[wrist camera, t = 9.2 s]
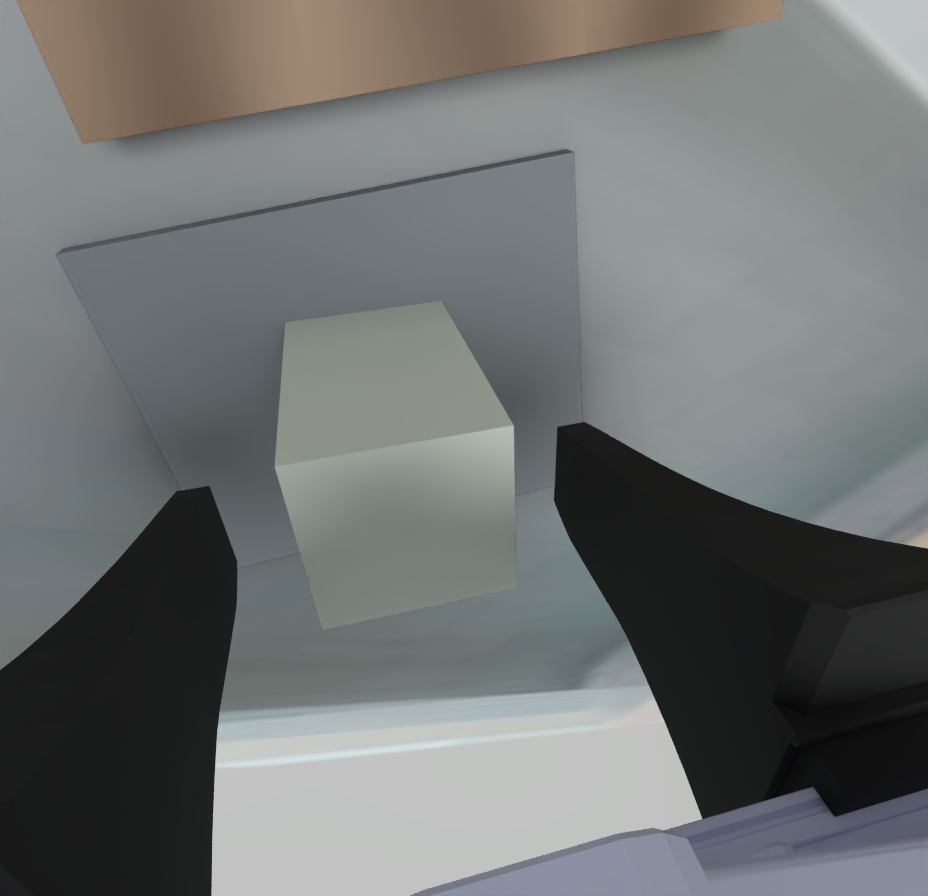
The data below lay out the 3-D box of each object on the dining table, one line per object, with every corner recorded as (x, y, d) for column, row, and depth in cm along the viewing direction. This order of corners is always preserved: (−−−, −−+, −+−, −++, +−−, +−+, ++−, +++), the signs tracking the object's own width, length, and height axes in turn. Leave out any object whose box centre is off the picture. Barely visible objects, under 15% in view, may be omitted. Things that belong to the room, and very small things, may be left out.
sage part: (316, 453, 17) (322, 630, 12) (285, 322, 15) (274, 466, 9) (452, 430, 18) (516, 588, 12) (441, 301, 15) (513, 425, 10)
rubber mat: (226, 560, 19) (224, 571, 19) (63, 248, 13) (55, 254, 13) (578, 469, 20) (584, 478, 20) (566, 149, 15) (574, 151, 14)
